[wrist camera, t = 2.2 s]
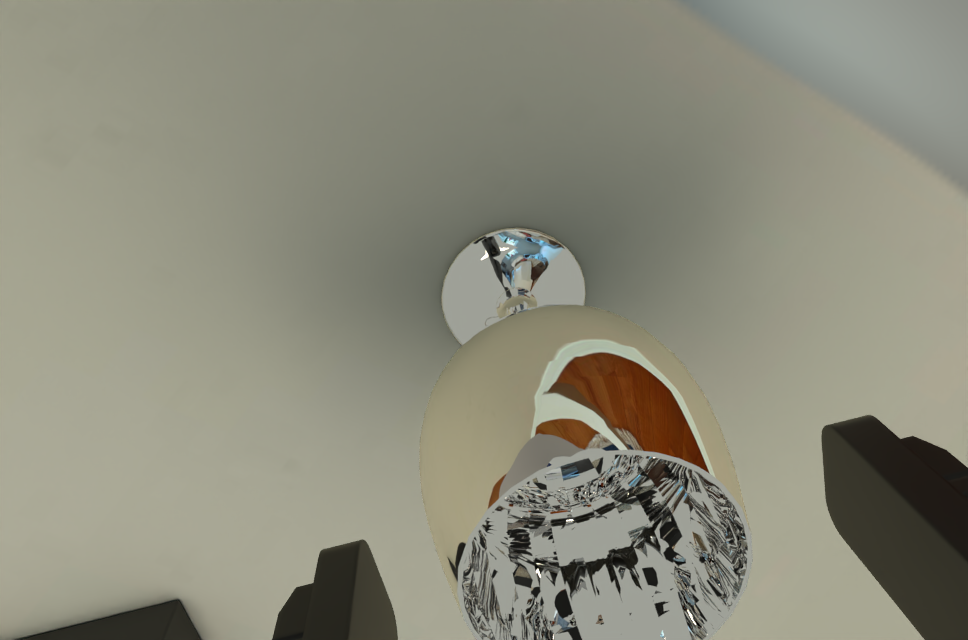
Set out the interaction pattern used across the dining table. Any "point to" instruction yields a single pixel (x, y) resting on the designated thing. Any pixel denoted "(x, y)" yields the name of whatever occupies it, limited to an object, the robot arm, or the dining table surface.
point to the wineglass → (573, 462)
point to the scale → (132, 626)
